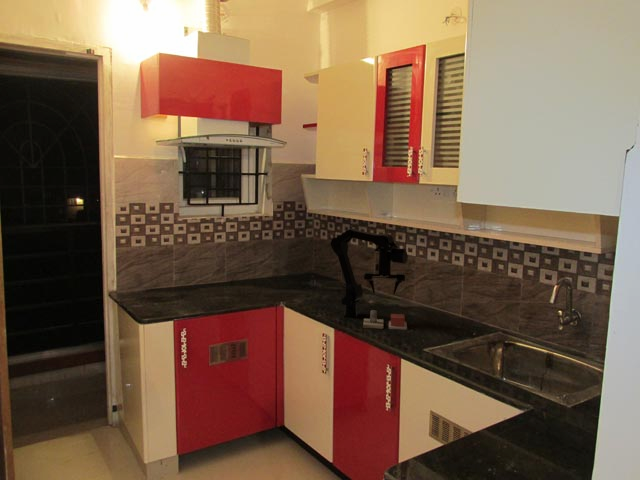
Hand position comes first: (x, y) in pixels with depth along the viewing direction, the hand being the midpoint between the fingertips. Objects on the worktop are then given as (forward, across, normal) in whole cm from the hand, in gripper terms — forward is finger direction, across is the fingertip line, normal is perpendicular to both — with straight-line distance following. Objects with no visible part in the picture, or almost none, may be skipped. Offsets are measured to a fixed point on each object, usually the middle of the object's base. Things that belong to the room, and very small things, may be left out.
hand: (384, 294), depth 253 cm
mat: (+13, -6, +7) cm, 16 cm away
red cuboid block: (+12, -6, +7) cm, 15 cm away
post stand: (+13, +4, +7) cm, 15 cm away
